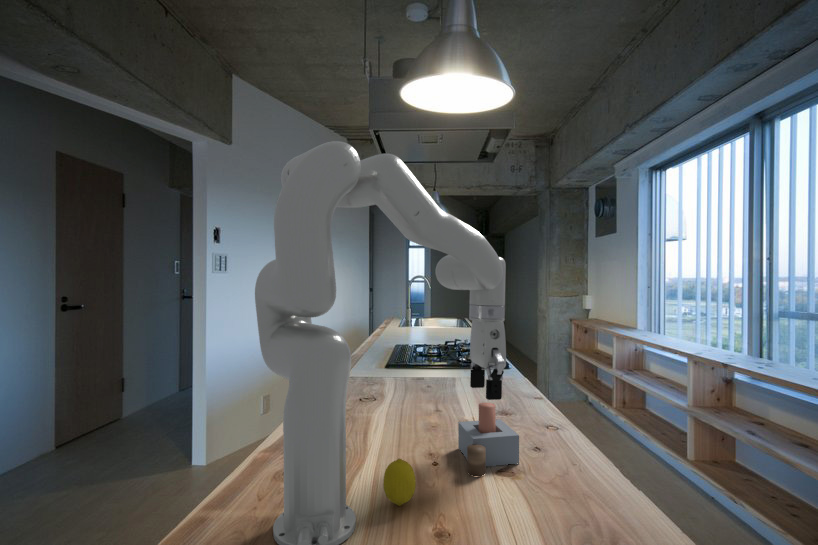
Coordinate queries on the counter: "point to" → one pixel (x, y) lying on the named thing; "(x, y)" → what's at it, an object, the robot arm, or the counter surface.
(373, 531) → the counter surface
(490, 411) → the long pin
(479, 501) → the counter surface
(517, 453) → the hole block
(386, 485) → the lemon
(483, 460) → the short pin
